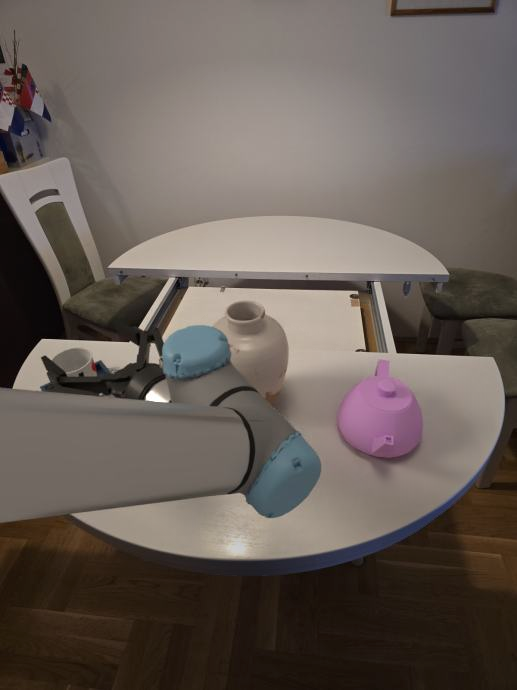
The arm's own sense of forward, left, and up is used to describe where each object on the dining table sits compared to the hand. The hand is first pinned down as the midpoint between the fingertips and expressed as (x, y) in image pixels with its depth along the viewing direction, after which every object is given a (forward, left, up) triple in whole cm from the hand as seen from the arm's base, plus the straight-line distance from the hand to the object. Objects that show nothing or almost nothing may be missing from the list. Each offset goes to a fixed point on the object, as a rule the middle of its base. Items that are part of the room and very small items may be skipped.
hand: (83, 342), depth 70 cm
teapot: (+38, -36, -20) cm, 56 cm away
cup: (-2, +10, -19) cm, 22 cm away
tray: (-2, +10, -20) cm, 22 cm away
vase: (+24, -14, -20) cm, 34 cm away
